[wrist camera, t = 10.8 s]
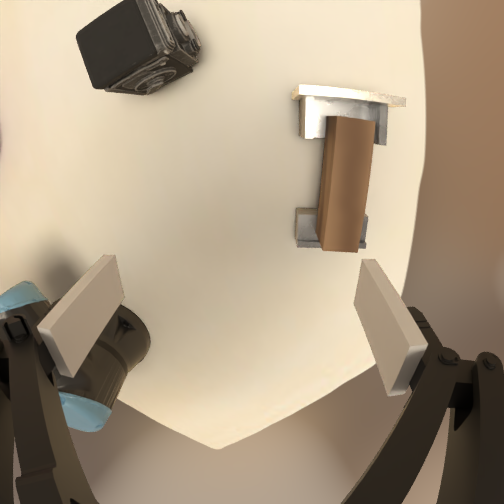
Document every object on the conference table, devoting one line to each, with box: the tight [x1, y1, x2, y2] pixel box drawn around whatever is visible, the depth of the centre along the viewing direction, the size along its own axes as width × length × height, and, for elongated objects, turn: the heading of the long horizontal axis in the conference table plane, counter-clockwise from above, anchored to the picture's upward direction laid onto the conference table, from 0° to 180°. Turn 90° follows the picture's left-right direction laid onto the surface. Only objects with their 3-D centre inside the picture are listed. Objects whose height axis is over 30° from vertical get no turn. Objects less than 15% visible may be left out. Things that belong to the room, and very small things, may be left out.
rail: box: [315, 116, 375, 253], centre depth 35 cm, size 4×16×6 cm, turn 178°
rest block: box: [295, 208, 368, 249], centre depth 42 cm, size 10×4×4 cm, turn 90°
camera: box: [76, 0, 201, 95], centre depth 27 cm, size 10×11×15 cm
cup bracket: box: [292, 85, 406, 145], centre depth 33 cm, size 12×6×10 cm, turn 90°
